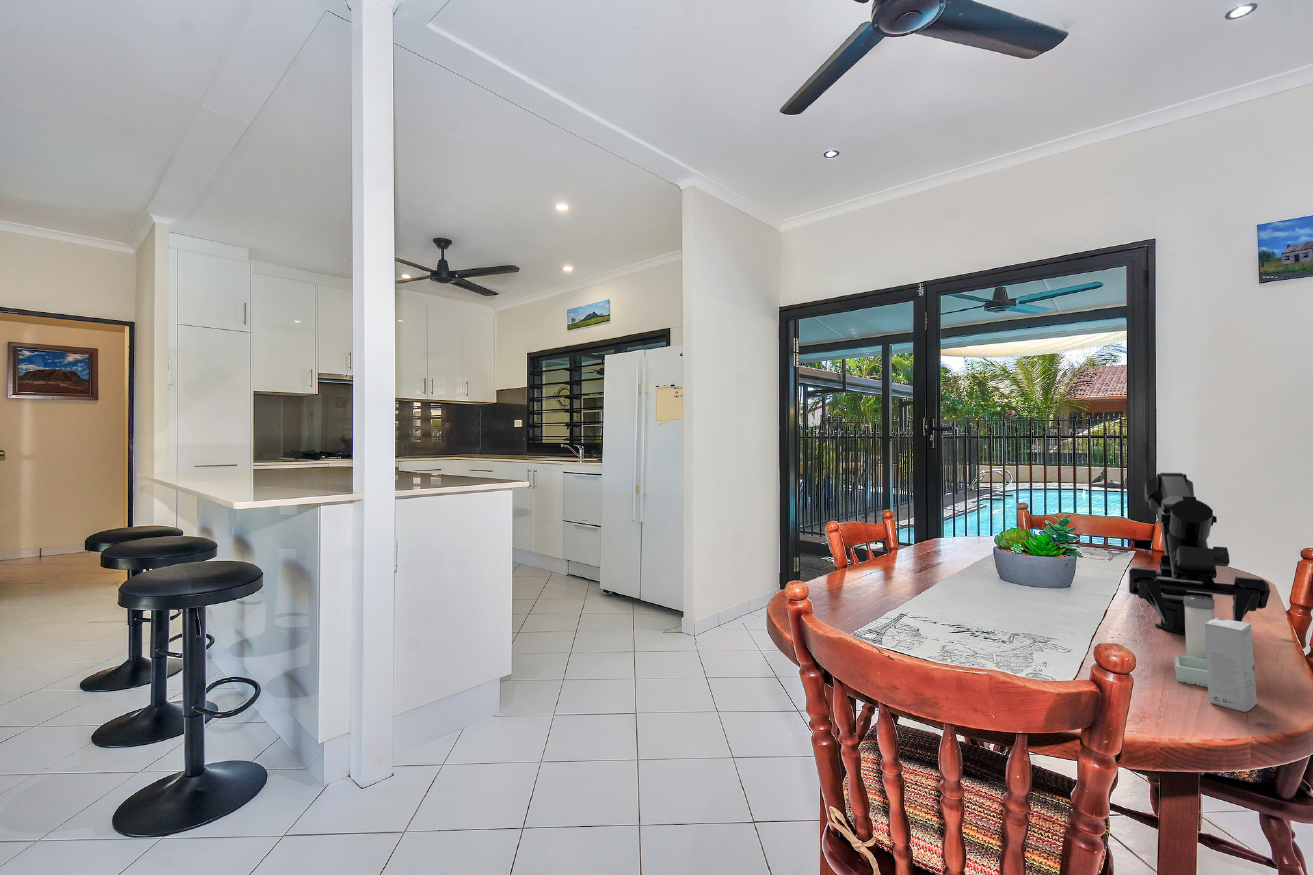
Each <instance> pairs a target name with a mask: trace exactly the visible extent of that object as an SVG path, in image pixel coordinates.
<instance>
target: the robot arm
mask: <svg viewBox="0 0 1313 875" xmlns="http://www.w3.org/2000/svg"><path fill="white" fill-rule="evenodd" d="M1187 476H1188V475H1187V474H1186V473H1183V472H1160V473H1157V474H1156V477H1153V478H1150V479H1148V480H1146V481H1145V484H1144V501H1145V502H1148V506H1149V507H1148V508H1149V510H1150V511H1151V512H1152V513H1154V514H1155V515H1156V516H1157V523H1158V525H1159V526H1160V531H1161V536H1162V537H1161V538H1162V545H1163V550H1164V551H1163V552H1164V554H1162V555H1161V557H1160V561H1159V562H1158V571H1157V570H1156V569H1155V568H1143V567H1133V566H1132V567H1131V568H1129V569H1128V570H1129V571H1128V590H1129V592H1128V593H1130V594H1131V595H1134V596H1138V598H1139V599H1142V600H1145V601H1146V602H1147V603H1148V604H1149V605H1150V606H1151V607H1152V609H1154V611H1155V612H1156V614H1157V615H1158V617H1159V618H1160V623H1159V622H1158V623H1154V627H1156V628H1159V629H1164V630H1167V631H1170V632H1173V633H1177V634H1181V635H1184V636H1186V631H1185V605H1184V596H1186V595H1193V596H1202V597H1207V598H1211V599H1214V595H1217V596H1229V597H1232V600H1233V604H1232V620H1233V621H1239V622H1243V619H1244V618H1245V616H1246V615H1247V613H1248V612H1255V611H1257V609H1258V610H1259V609H1260V610H1261V609H1266V607H1267V605H1268V600H1269V596H1270V595H1271V589H1270V584H1269V583H1268V582H1267V581H1266V580H1264V579H1263V578H1255V577H1254V578H1253V577H1243V576H1235V578H1234V582H1233V583H1232V584H1231V583H1221V582H1215V579H1216V578H1217V577H1218V574H1217V567H1224V568H1225V567H1228V566H1229V565H1230V561H1231V560H1230V555H1229V554H1230V553H1229V550H1228V547H1226V546H1213V547H1212V548H1209V546H1208V540H1207V539H1208V538H1209V537H1210V535H1211V534H1210V533H1211V528H1212V526H1213V525H1214V524H1216V523H1218V521H1217V518H1218V517H1217V516H1216V515H1214V513H1213V512H1214V510H1213V509H1212V508H1211V507H1210V506H1209V505H1208V504H1206V503H1205V502H1202V501H1201V500H1200V499H1197V497H1196V496H1195V491H1194V482H1193V481H1191V480H1190V479H1188V478H1187Z"/></svg>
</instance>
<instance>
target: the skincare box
mask: <svg viewBox="0 0 1313 875" xmlns="http://www.w3.org/2000/svg"><path fill="white" fill-rule="evenodd" d="M1252 633H1253V632H1252V624H1251V623H1249V622H1244V621H1242V622H1239V621H1233V619H1226V618H1225V619H1224V618H1219V617H1216V618H1215V617H1214V619H1213V620H1209V622H1207V623H1205V641H1206V658H1207V677H1208V687H1207V692H1208V693H1207V694H1208V701H1209V703H1211V704H1213V705H1217V706H1220V707H1222V708H1223V707H1224V708H1227V709H1231V710H1234V711H1239V712H1242V713H1243V712H1244V713H1246V712H1249V711H1250V710H1251V709H1253V708H1254V707H1255V705H1256V704H1257V688H1256V672H1255V660H1254V659H1255V658H1254V646H1253V634H1252Z"/></svg>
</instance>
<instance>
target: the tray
mask: <svg viewBox="0 0 1313 875" xmlns="http://www.w3.org/2000/svg"><path fill="white" fill-rule="evenodd" d="M1174 671H1175V679H1176V682H1180V683H1184V682H1186V683H1185V684H1190V685H1194V684H1197V685H1196V686H1199V685H1200V687H1204V686H1205V688H1208V677H1207V660H1206V659H1200V658H1194V657H1188V656H1186V655H1183V654H1176V653H1174Z"/></svg>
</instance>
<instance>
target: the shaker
mask: <svg viewBox="0 0 1313 875" xmlns="http://www.w3.org/2000/svg"><path fill="white" fill-rule="evenodd" d="M1215 604H1216V603H1215V599H1214V598H1213V599H1211V598H1207V597H1202V596H1193V595H1186V596H1184V605H1185V631H1186V635H1185V654H1186V655H1185V656H1188V657H1194V658H1200V659H1206V660H1207V658H1206V641H1205V623H1207V622H1209V620H1213V619H1215V609H1216V608H1215V607H1216V605H1215Z"/></svg>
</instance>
